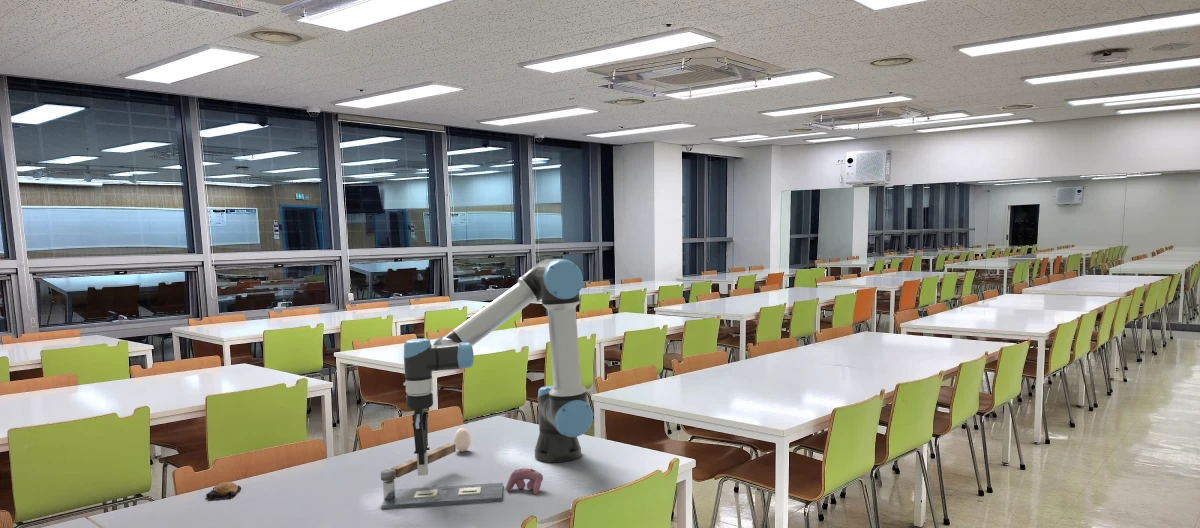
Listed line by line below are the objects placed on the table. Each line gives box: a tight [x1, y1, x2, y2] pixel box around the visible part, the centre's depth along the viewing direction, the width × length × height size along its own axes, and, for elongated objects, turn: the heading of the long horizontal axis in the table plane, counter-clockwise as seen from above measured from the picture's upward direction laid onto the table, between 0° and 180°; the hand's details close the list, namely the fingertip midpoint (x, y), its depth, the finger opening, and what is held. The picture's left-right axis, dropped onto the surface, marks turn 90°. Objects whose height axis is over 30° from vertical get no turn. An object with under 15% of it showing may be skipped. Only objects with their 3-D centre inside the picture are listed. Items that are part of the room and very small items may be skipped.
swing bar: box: [380, 442, 457, 482], centre depth 213 cm, size 30×4×2 cm, turn 154°
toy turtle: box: [205, 481, 242, 503], centre depth 210 cm, size 11×8×4 cm
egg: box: [453, 427, 471, 453], centre depth 246 cm, size 6×6×8 cm
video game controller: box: [506, 467, 544, 495], centre depth 207 cm, size 10×5×7 cm, turn 71°
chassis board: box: [380, 479, 504, 510], centre depth 202 cm, size 32×12×6 cm, turn 96°
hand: (423, 474), depth 209 cm, fingers closed
